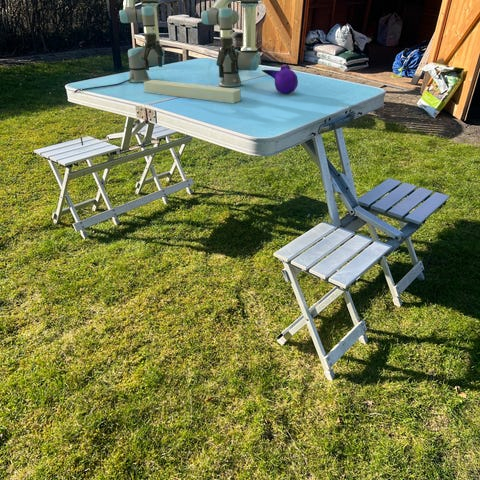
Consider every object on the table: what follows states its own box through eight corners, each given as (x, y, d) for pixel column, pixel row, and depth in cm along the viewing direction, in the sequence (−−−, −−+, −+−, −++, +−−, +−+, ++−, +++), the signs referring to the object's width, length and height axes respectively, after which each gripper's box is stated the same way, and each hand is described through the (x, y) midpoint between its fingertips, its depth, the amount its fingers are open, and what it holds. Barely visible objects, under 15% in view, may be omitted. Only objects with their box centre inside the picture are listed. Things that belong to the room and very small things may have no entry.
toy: (281, 86, 312) (297, 99, 291) (258, 82, 304) (273, 95, 284) (288, 63, 304) (305, 74, 283) (264, 58, 296) (281, 69, 276)
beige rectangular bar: (144, 92, 306) (143, 82, 303) (153, 89, 313) (152, 79, 309) (233, 103, 274) (233, 92, 271) (240, 100, 281) (240, 89, 277)
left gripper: (141, 35, 277) (145, 71, 288) (166, 31, 296) (170, 65, 306) (132, 35, 281) (137, 71, 291) (158, 31, 299) (161, 65, 310)
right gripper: (220, 40, 251) (221, 79, 262) (242, 35, 270) (243, 72, 280) (209, 39, 255) (211, 78, 265) (232, 35, 273) (233, 71, 284)
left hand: (153, 68), depth 299 cm, fingers open, 13 cm apart
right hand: (227, 75), depth 273 cm, fingers open, 13 cm apart
